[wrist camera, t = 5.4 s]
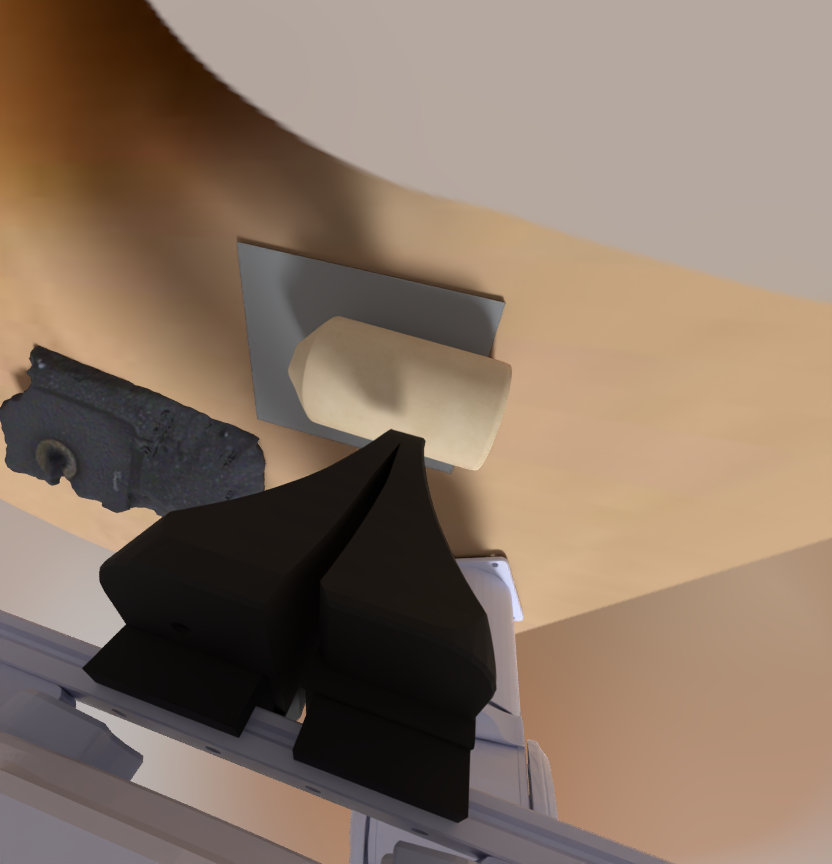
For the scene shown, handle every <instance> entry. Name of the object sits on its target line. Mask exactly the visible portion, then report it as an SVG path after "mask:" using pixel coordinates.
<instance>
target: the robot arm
mask: <svg viewBox="0 0 832 864" xmlns="http://www.w3.org/2000/svg"><path fill="white" fill-rule="evenodd" d="M425 443H426V441H425V439H424V438H422V437H418V436H415V435H411V434H407V433H404V432H400V431H396V430H393V429H390V430H388V431H386V432H385V433H383V434H382V435H381V436H379V437H378V438H376V439H375V440H373V441H372V442H370V443H369V444H367V445H366V446H364V447H363V448H361V449H359V450H358V451H356V452H355V453H353V454H351V455H350V456H348V457H346V458H344V459H342V460H340V461H339V462H337V463H335V464H333V465H331V466H329V467H327V468H325V469H323V470H321V471H318V472H316V473H314V474H311V475H309V476H306V477H304V478H301V479H298V480H296V481H293V482H290V483H287V484H284V485H281V486H278V487H275V488H272V489H269V490H265V491H262V492H258V493H255V494H251V495H247V496H243V497H239V498H235V499H231V500H227V501H222V502H217V503H212V504H207V505H202V506H197V507H192V508H186V509H181V510H175V511H170V512H169V513H167V514H166V515H165V516H163V517H162V518H161V519H159V520H158V521H157V522H155V523H154V524H153V525H152V526H150V527H149V528H148V529H146V530H145V531H144V532H142V533H141V534H140V535H139V536H137V537H136V538H135V539H133V540H132V541H131V542H129V543H128V544H127V545H126V546H124V547H123V548H122V549H120V550H119V551H118V552H116V553H115V554H114V555H113V556H111V557H110V558H109V559H107V560H106V561H105V562H104V563H103V564H102V566H101V567H100V571H99V580H100V583H101V585H102V588H103V589H104V591H105V593H106V594H107V596H108V598H109V599H110V601H111V602H112V603H113V605H114V606H115V608H116V609H117V611H118V613H119V614H120V615H121V617H122V619H123V620H124V622H125V623H126V625H125V626H124V627H123V628H122V629H121V630H120V631H119V632H118V633H117V634H116V635H115V636H114V637H113V638H112V639H111V640H110V641H109V642H108V643H107V644H106V645H105V646H104V647H103V648H100V647H97V646H95V645H92V644H89V643H87V642H84V641H82V640H79V639H76V638H74V637H71V636H68V635H65V634H63V633H60V632H58V631H55V630H52V629H50V628H47V627H44V626H41V625H39V624H36V623H34V622H31V621H28V620H26V619H23V618H20V617H18V616H15V615H12V614H10V613H7V612H4V611H2V610H0V864H321V863H319V862H317V861H315V860H312V859H310V858H308V857H305V856H303V855H301V854H299V853H297V852H294V851H292V850H290V849H288V848H285V847H283V846H281V845H278V844H276V843H274V842H272V841H270V840H267V839H265V838H263V837H261V836H258V835H256V834H254V833H252V832H249V831H247V830H244V829H242V828H240V827H238V826H235V825H233V824H230V823H228V822H226V821H224V820H221V819H219V818H217V817H214V816H211V815H210V814H207V813H205V812H203V811H200V810H198V809H196V808H193V807H191V806H188V805H186V804H184V803H181V802H179V801H177V800H174V799H172V798H169V797H167V796H165V795H162V794H160V793H158V792H155V791H153V790H150V789H148V788H146V787H143V786H141V785H138V784H136V783H133V782H131V781H130V780H131V779H132V777H133V776H134V774H135V773H136V771H137V769H138V768H139V767H140V766H141V764H142V762H143V755H141V754H140V753H138V752H137V751H135V750H134V749H132V748H131V747H129V746H128V745H126V744H125V743H124V742H122V741H121V740H120V739H119V738H117V737H116V736H115V735H114V734H113V733H112V732H111V731H110V730H109V728H108V727H107V726H106V724H105V723H103V722H101V721H99V720H97V719H95V718H93V717H91V716H89V715H87V714H85V713H83V712H81V711H79V710H77V709H75V708H76V701H75V700H77V701H79V702H82V703H84V704H87V705H89V706H92V707H94V708H97V709H99V710H102V711H104V712H107V713H109V714H112V715H114V716H117V717H120V718H122V719H124V720H127V721H129V722H132V723H135V724H137V725H140V726H142V727H145V728H147V729H150V730H152V731H155V732H158V733H160V734H162V735H165V736H167V737H170V738H172V739H175V740H177V741H180V742H183V743H185V744H187V745H190V746H192V747H195V748H197V749H200V750H203V751H205V752H208V753H210V754H213V755H215V756H218V757H220V758H223V759H225V760H228V761H230V762H233V763H235V764H238V765H240V766H243V767H246V768H248V769H250V770H253V771H256V772H258V773H260V774H263V775H266V776H268V777H271V778H273V779H275V780H278V781H281V782H283V783H286V784H288V785H291V786H293V787H296V788H298V789H301V790H303V791H306V792H308V793H311V794H313V795H316V796H318V797H321V798H323V799H326V800H328V801H331V802H333V803H336V804H338V805H341V806H344V807H346V808H349V809H351V810H352V811H351V821H350V860H349V864H674V863H671V862H669V861H666V860H664V859H661V858H658V857H656V856H653V855H651V854H648V853H645V852H643V851H639V850H637V849H635V848H632V847H629V846H626V845H624V844H621V843H619V842H616V841H613V840H611V839H608V838H605V837H603V836H600V835H597V834H595V833H592V832H589V831H587V830H584V829H581V828H579V827H576V826H573V825H571V824H568V823H565V822H563V821H560V820H558V816H557V808H556V801H555V794H554V787H553V780H552V774H551V769H550V764H549V760H548V758H547V756H546V755H545V754H544V752H543V751H542V750H541V749H540V747H539V744H538V742H537V741H535V740H528V739H527V749H528V779H529V792H528V780H527V768H526V756H525V743H524V730H523V719H522V717H521V714H520V700H519V687H518V673H517V659H516V646H515V632H514V621H522V620H523V619H524V617H523V612H522V608H521V605H520V601H519V598H518V594H517V591H516V587H515V584H514V581H513V577H512V574H511V570H510V567H509V563H508V560H507V559H506V558H504V557H481V558H460V559H455V558H454V556H453V554H452V551H451V549H450V547H449V545H448V543H447V541H446V538H445V536H444V534H443V532H442V529H441V526H440V524H439V521H438V519H437V516H436V513H435V510H434V507H433V503H432V500H431V496H430V492H429V487H428V483H427V477H426V470H425V461H424V447H425ZM305 703H306V717H305V719H304V722H303V724H302V723H300V722H297V720H298V719H299V718H300V717H301V714H302V711H303V708H304V706H305ZM529 793H530V795H529Z"/></svg>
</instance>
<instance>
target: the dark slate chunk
mask: <svg viewBox="0 0 832 864" xmlns="http://www.w3.org/2000/svg"><path fill="white" fill-rule="evenodd" d="M30 357H31V358H29V359H30V361H31V363H32V367H31V368H30V369H29V370H28V371H27V374H28V375H29V376H30V377H31V381H32V383H31V385H30V387H29V388H28V389H27V390H26V391H24V393H18V394H16V395H14V396H12V397H11V398H10V399H8V400H5V401H4V402H3V404H2V406H1V407H0V421H1V424H2V431H3V432H4V435H5V442H6V444H7V448H6V457H5V463H6V464H7V467H8V468H10V469H11V470H12V471H14V472H17V473H25V474H28V475H30V476H33V477H36V478H38V479H41V480H45V481H46V482H47V483H48V484H50V485H56V484H59V483H60V478H61V476H65V478H66V479H67V480H69V481H70V482H71V485H72V488H73V489H74V491H75V492H76V494H77V495H78V496H79V497H82V498H86V499H91V500H97V501H100V502H102V506H103V507H104V508H107V509H109V510H111V511H113V512H115V513H119V512H123V511H127V510H130V508H133V507H139V508H143V507H144V508H148V509H152V510H155V512H156V513H157V515H160V516H162V517H163V516H165V515H166V514H167V513H169V512H170V511H175V510H181V509H186V508H192V507H197V506H202V505H207V504H212V503H217V502H222V501H227V500H231V499H235V498H239V497H243V496H247V495H251V494H255V493H258V492H262V491H264V490H265V486H264V470H265V464H266V463H265V461H264V459H263V452H262V450H261V448H260V447H259V445H258V443H257V442H258V440H259V439H258V438H257V437H256V436H254V435H253V434H251V433H249V432H245V431H243V430H242V429H240V428H238V427H236V426H234V425H231V424H228V423H224V422H221V421H218V420H215V419H212V418H210V417H209V416H208V415H206V414H204V413H201V412H199V411H197V410H195V409H193V408H191V407H187V406H184V405H182V404H180V403H179V402H177V401H174V400H172V399H170V398H167V397H165V396H163V395H161V394H159V393H155V392H153V391H151V390H149V389H147V388H143V387H140V386H135V385H134V384H133V383H131V382H129V381H125V380H122V379H120V378H118V377H116V376H114V375H110V374H108V373H105V372H102V371H100V370H98V369H95V368H93V367H90V366H87V365H84V364H82V363H80V362H78V361H75V360H72V359H69V358H67V357H65V356H63V355H61V354H59V353H57V352H53V351H50V350H48V349H46V348H43V347H41V346H37V347H35V348H34V349H33V350H32V351H31V353H30Z"/></svg>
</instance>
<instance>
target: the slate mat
mask: <svg viewBox="0 0 832 864" xmlns="http://www.w3.org/2000/svg"><path fill="white" fill-rule="evenodd" d="M237 248H238V257H239V265H240V274H241V283H242V291H243V300H244V308H245V317H246V326H247V334H248V343H249V351H250V360H251V369H252V377H253V386H254V394H255V403H256V412H257V419H259V420H262V421H266V422H269V423H273V424H276V425H280V426H284V427H287V428H291V429H294V430H298V431H301V432H305V433H308V434H312V435H315V436H319V437H322V438H326V439H330V440H333V441H337V442H340V443H344V444H347V445H351V446H354V447H358V448H363V447H364V446H366V445H367V444H369V443H370V442H372V441H373V440H370V439H367V438H363V437H360V436H357V435H353V434H350V433H347V432H344V431H340V430H337V429H334V428H331V427H327V426H324V425H321V424H318V423H315V422H312V421H311V420H310V419H309V418H308V416H307V414H306V412H305V410H304V408H303V406H302V404H301V402H300V400H299V397H298V395H297V392H296V389H295V387H294V385H293V383H292V381H291V379H290V377H289V373H288V368H289V365H290V362H291V360H292V357H293V354H294V351H295V348H296V346H297V345H298V343H299V342H300V341H302V340H303V339H305V338H306V337H307V336H309V335H310V334H311V333H312V332H314V331H315V330H316V329H317V328H318V327H320V326H321V325H322V324H324V323H325V322H327V321H328V320H330V319H331V318H333V317H336V316H341V317H345V318H348V319H352V320H356V321H359V322H363V323H367V324H370V325H374V326H377V327H381V328H385V329H388V330H392V331H395V332H399V333H403V334H406V335H410V336H413V337H417V338H421V339H424V340H428V341H431V342H435V343H439V344H442V345H446V346H449V347H453V348H457V349H460V350H464V351H467V352H471V353H475V354H478V355H482V356H485V357H488V356H489V353H490V350H491V347H492V344H493V341H494V337H495V334H496V331H497V328H498V325H499V322H500V319H501V316H502V312H503V309H504V306H505V302H501V301H497V300H493V299H488V298H484V297H479V296H475V295H470V294H466V293H462V292H457V291H453V290H448V289H444V288H440V287H435V286H431V285H426V284H422V283H418V282H413V281H409V280H404V279H400V278H396V277H391V276H387V275H382V274H378V273H374V272H369V271H365V270H360V269H356V268H352V267H347V266H343V265H338V264H334V263H330V262H325V261H321V260H316V259H312V258H308V257H303V256H299V255H294V254H290V253H286V252H281V251H277V250H272V249H268V248H264V247H259V246H255V245H250V244H246V243H242V242H237ZM424 461H425V467H429V468H432V469H436V470H439V471H443V472H446V473H450V474H451V472H452V469H453V466H454V465H451V464H448V463H445V462H442V461H438V460H435V459H432V458H429V457H425V456H424Z"/></svg>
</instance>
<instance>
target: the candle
mask: <svg viewBox="0 0 832 864" xmlns="http://www.w3.org/2000/svg"><path fill="white" fill-rule="evenodd" d="M288 373H289V377H290V379H291V381H292V383H293V385H294V387H295V389H296V392H297V395H298V397H299V400H300V402H301V404H302V406H303V408H304V410H305V412H306V414H307V416H308V418H309V419H310V420H311V421H312V422H315V423H318V424H321V425H324V426H327V427H331V428H334V429H337V430H340V431H344V432H347V433H350V434H353V435H357V436H360V437H363V438H367V439H370V440H375V439H376V438H378V437H379V436H381V435H382V434H383V433H385V432H386V431H388V430H390V429H393V430H396V431H400V432H404V433H407V434H411V435H415V436H418V437H422V438H424V439H425V441H426V443H425V447H424V456H425V457H429V458H432V459H435V460H438V461H442V462H445V463H448V464H451V465H455V466H458V467H462V468H465V469H469V470H476V471H477V470H478V469H479V468H480V467H481V466H482V464H483V462H484V461H485V459H486V457H487V455H488V453H489V451H490V449H491V447H492V444H493V442H494V439H495V437H496V434H497V432H498V429H499V426H500V423H501V420H502V417H503V414H504V410H505V406H506V403H507V399H508V394H509V389H510V383H511V375H512V368H511V365H509V364H507V363H505V362H502V361H499V360H496V359H492V358H489V357H485V356H482V355H478V354H475V353H471V352H467V351H464V350H460V349H457V348H453V347H449V346H446V345H442V344H439V343H435V342H431V341H428V340H424V339H421V338H417V337H413V336H410V335H406V334H403V333H399V332H395V331H392V330H388V329H385V328H381V327H377V326H374V325H370V324H367V323H363V322H359V321H356V320H352V319H348V318H345V317H341V316H336V317H333V318H331V319H330V320H328V321H327V322H325V323H324V324H322V325H321V326H320V327H318V328H317V329H316V330H315V331H314V332H312V333H311V334H310V335H309V336H307V337H306V338H305V339H303V340H302V341H300V342H299V343H298V345H297V346H296V348H295V351H294V354H293V357H292V360H291V362H290V365H289V368H288Z"/></svg>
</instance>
